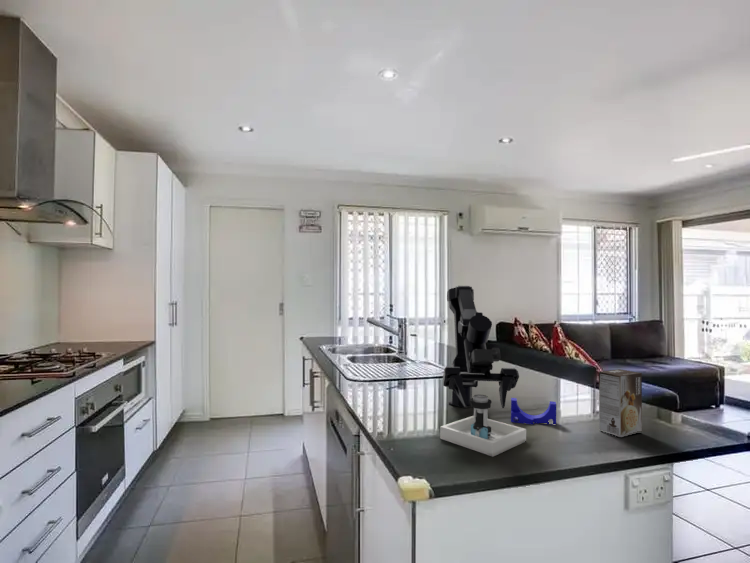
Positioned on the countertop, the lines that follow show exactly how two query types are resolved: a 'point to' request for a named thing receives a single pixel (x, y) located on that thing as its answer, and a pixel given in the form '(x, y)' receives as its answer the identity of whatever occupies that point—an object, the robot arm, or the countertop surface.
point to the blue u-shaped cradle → (529, 419)
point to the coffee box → (620, 401)
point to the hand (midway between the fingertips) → (484, 406)
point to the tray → (503, 440)
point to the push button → (481, 416)
